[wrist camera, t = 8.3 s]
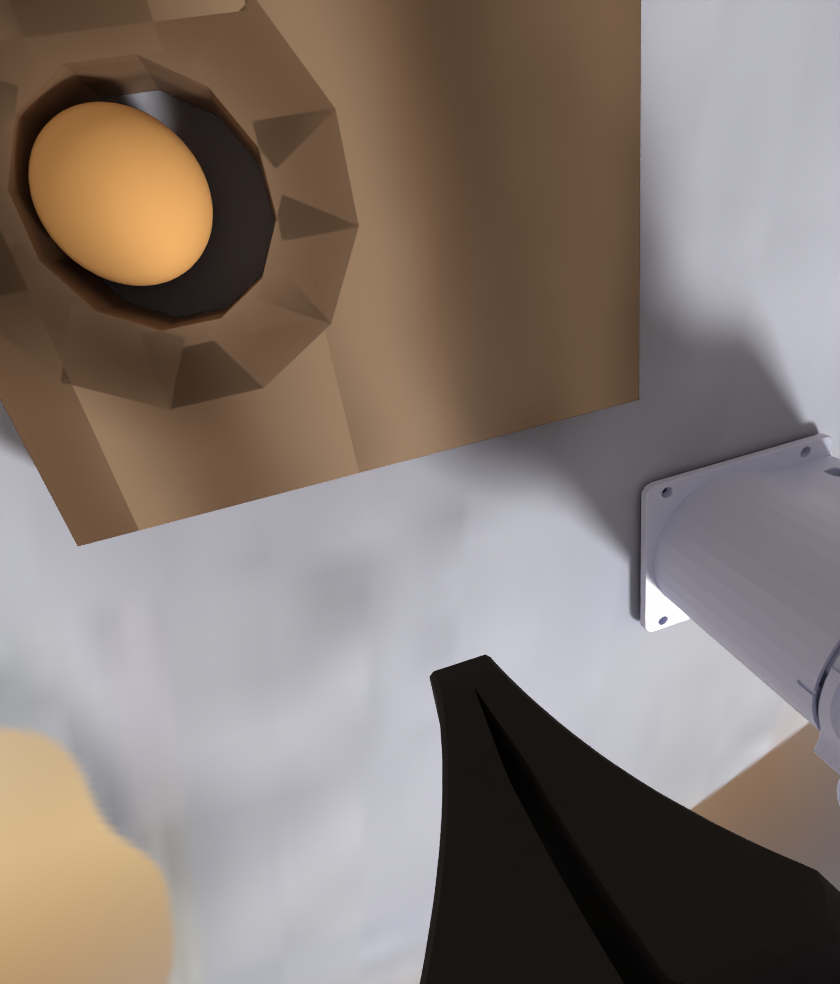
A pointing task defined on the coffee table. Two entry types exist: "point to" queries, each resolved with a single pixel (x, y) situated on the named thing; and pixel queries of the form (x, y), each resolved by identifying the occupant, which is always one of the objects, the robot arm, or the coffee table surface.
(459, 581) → the coffee table surface
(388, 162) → the board
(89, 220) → the ball
